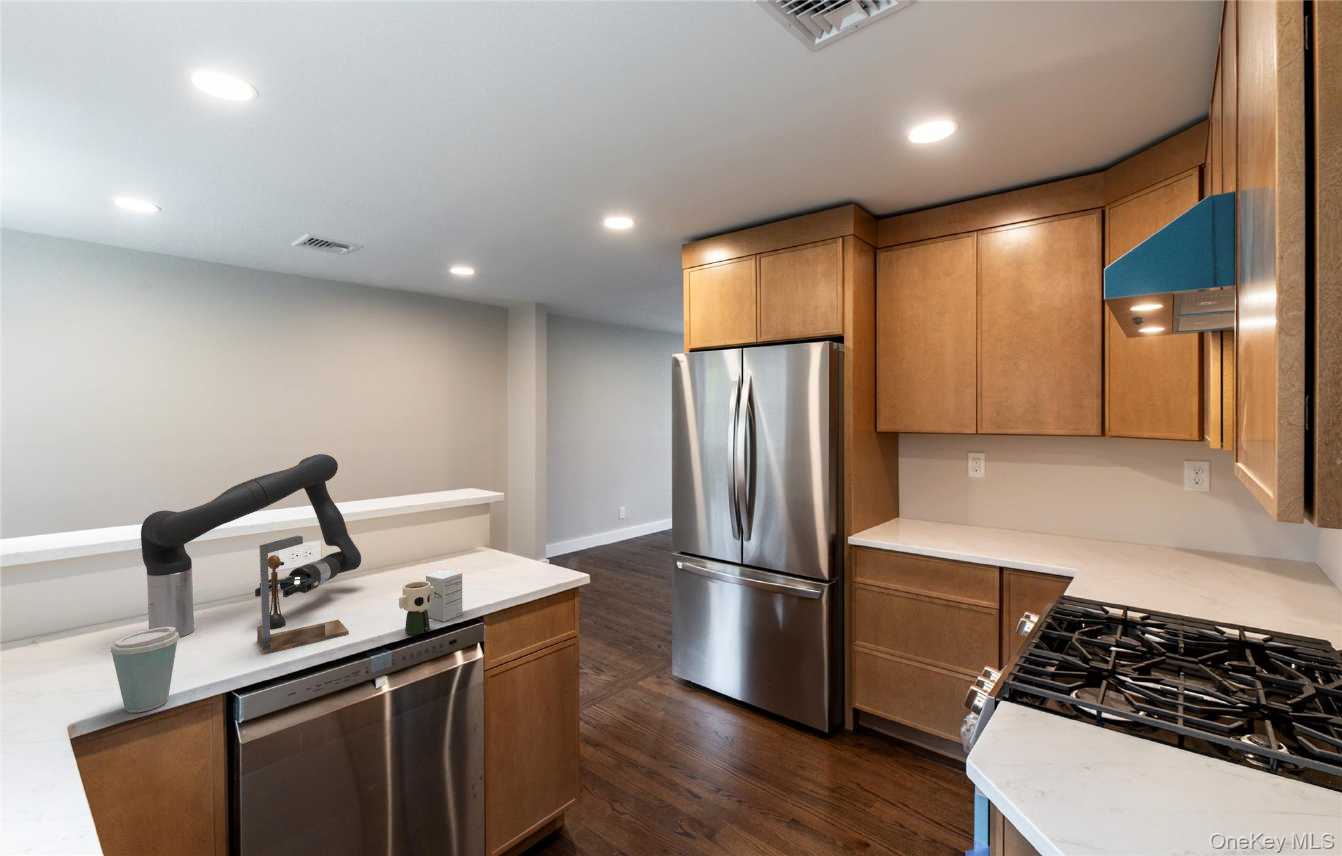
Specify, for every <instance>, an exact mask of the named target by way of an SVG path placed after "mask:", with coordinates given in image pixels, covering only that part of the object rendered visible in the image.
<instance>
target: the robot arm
mask: <svg viewBox="0 0 1342 856" xmlns="http://www.w3.org/2000/svg"><path fill="white" fill-rule="evenodd" d="M338 469H339V464H338V462H337V460H336V459H335V457H333V456H332V455H329V454H325V453H318V454H314V455H310V456H308V457H305V458H303V459H302V460H300V461H299V462H298V464H297V465H295V466H292V467H290V468H287V469H283V470H279V471H275V472H271V473H268V474H263V475H260V476H257V477H254V478H250V479H248V480H247V481H243V482H240V483H238V484H236V485H234V486H231V487H230V488H228V489H226V490H225V491H224V492H222V493H221V494H220V495H218V496H217V497H215V498H214V499H212V500H211V501H208V502H206V503H204V504H201V505H198V506H196V507H193V508H189V509H186V510H182V511H174V510H173V511H172V510H158V511H155V512H153V513H151V514H149V515H148V516H147V517H146V518H145V519H144V520H143V522H142V525H141V527H140V543H141V553H142V561H143V563H144V566H145V568H146V579H147V580H146V581H147V587H146V588H147V611H148V612H147V613H148V617H147V618H148V630H150V629H155V628H161V627H175V628H176V632H178V633H179V637H180V638H181V637H182V638H183V637H184V636H187V635H190V634H191V633H193V632H194V631H195V618H194V617H195V616H194V614H195V613H194V591H193V588H194V587H193V567H192V566H193V563H192V561H193V560H192V558H191V557H190V555H189V554H188V553H187V551H186V548H185V544H188V543H190V542H191V541H193V540H196V539H197V538H199V537H201V536H202V535H204V534H206V533H208V532H210V531H212V530H214V529H216V528H218V527H220V526H222V525H225V524H228V523H230V522H233V521H236V520H237V519H240V518H243V517H245V516H247V515H250V514H253V513H255V512H258V511H260V510H262V509H265V508H266V507H269V506H271V505H273V504H275V503H277V502H279V501H281V500H283V499H286V498H287V497H289V496H290V495H293V494H294V493H296V492H298V491H300V490H303V489H304V490H305V493H306V495H307V497H308V499H309V501H310V504H311V506H312V508H313V510H314V513H315V515H316V517H317V518H316V519H317V520H318V521H317V522H318V524H319V527H320V530H321V534H322V537H323V538H322V539H323V541H324V543H325V546H328V547H337V548H338V549H339V550H340V551H336V552H332V553H330V554H327V555H325V556H324V557H323V558H320V559H318V560H315V561H311V562H308V563H305V564H303V565H300V566H298V567H296V568H293V569H292V570H291V572H290V573H289V574H288V576H284V577H282V578H278V585H279V588H278V593H281V592H282V597H283V598H288V597H290V596H293V595H294V594H301V593H302V594H307V593H309V592H310V591H313V590H315V589H317V588H319V586H322V585H323V584H325V582H328V581H329V580H331V579H334V578H335V577H336V576H338V574H343V573H346V572H351V571H354V570H357V569H358V568H359V567H360V566H361V563H362V554H361V552H360V550H359V549H358V547H357V545H356V544H355V542H353V539H352V538H351V537H350V534H349V531H348V529H347V525H346V522H345V519H344V517H343V515H342V512H341V511H340V509H339V508H338V506H337V505H336V504H335V503H334V501H333V499H332V498H331V496H330V494H329V492H328V488H327V483H326V482H328V481H330V480H332V479H333V478H334V477H335V475H336V474H337V472H338ZM269 593H272V584H271V578H269ZM276 593H277V589H276ZM254 595H255V597H256V598H257V597H259V598H260V597H261V582H260V583H259V587H257V588H256V589H254Z"/></svg>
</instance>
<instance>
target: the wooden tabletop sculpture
mask: <svg viewBox="0 0 1342 856" xmlns="http://www.w3.org/2000/svg"><path fill="white" fill-rule="evenodd" d="M284 565H285V562H284V561H281V558H280V557H279V556H278V555H276V554H272V555H271V556H268V569H271V570H272V571H271V572H270V577H271V578H270V579H271V584H272V588H271V589H272V592H271V603H270V630H277V628H278V629H281V628H284V627H286V624H287V622H286V618H285V616H284V615H282V610H281V606H280V599H279V592H278V589H279V584H278V579H279V578H278V576H279V575H278V573H279V572H278V571H277V570H276V569H279V567H280V566H281V567H283V566H284ZM276 589H277V592H276ZM272 611H273V612H272ZM278 611H279V612H278Z"/></svg>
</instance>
